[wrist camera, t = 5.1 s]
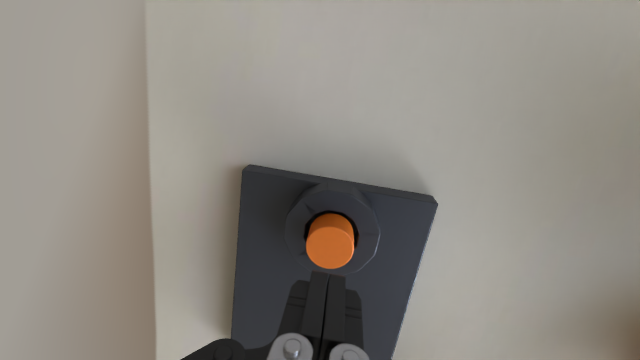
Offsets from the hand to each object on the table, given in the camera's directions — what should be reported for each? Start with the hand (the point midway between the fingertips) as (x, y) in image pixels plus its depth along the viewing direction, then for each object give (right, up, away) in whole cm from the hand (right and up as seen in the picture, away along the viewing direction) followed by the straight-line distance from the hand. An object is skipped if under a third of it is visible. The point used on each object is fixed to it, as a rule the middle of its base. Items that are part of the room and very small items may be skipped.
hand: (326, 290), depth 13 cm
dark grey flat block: (0, -2, +9) cm, 9 cm away
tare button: (0, +2, +5) cm, 5 cm away
